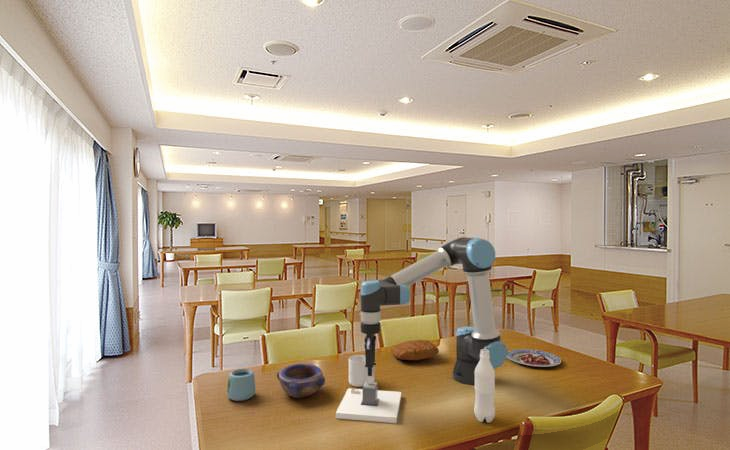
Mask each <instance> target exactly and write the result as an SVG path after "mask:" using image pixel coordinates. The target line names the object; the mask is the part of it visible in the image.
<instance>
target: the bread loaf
mask: <svg viewBox="0 0 730 450" xmlns="http://www.w3.org/2000/svg"><path fill="white" fill-rule="evenodd" d="M439 351H440V350H439V348H438V346H437V345H435V344H434V343H433V342H431V341H429V340H427V339H415V340H407V341H403V342H400V343H396V344H394V345H392V346H391V347H390V352H391V354H392V355H393V357H395V358H397V359H399V360H401V361H402V360H405V361H406V360H407V361H421V360H425V359H429V358H433V357H434V356H437V355H438V354H439Z"/></svg>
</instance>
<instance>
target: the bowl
mask: <svg viewBox="0 0 730 450" xmlns="http://www.w3.org/2000/svg"><path fill="white" fill-rule="evenodd" d="M276 378H277V380H278V381H279V384H280V387H281V389H282V390H283V391H284V393H286V395H289V396H290V397H292V398H296V399H297V398H306V397H310V396H311V395H313V394H314V393H316V392H317V391H318V390H320V388H322V387H324V386H325V383H326V378H325V376H324V374H323V371H322V369H321V368H320V367H319V366H318V365H315V364H313V363H310V362H308V363H307V362H304V363H303V362H302V363H295V364H290V365H288V366H285V367H284V368H282V369H280V370H279V371H278V372H277V374H276Z"/></svg>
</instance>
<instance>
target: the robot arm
mask: <svg viewBox="0 0 730 450" xmlns="http://www.w3.org/2000/svg"><path fill="white" fill-rule="evenodd" d="M495 260H496V250H495V248H494V246H493V244H492V243H491V242H490V241H488V240H487V239H483V238H480V237H467V236H466V237H458V238H455V239H453V240H451V241H449V242H447V243H445V244H443V245H442V246H440V247H438V248H437V251H434V252H433V253H432V254H430V255H428V256H426V257H424V258H422V259H420V260H418V261H416V262H415V263H413V264H410V265H408V266H406V267H404V268H402V269H401V270H399V271H398V272H395V273H393V274H392V275H389V276H388V277H386V278H384V279H376V280H365V281H362V282H361V283H360V312H359V314H358V315H359V316H360V321H361V322H360V332H361V334H365V337H364V345H363V346H364V356H365V359H366V365H365V367H367V384H374V382H375V366H376V365H377V363H376V343H377V342H376V340H377V336H376V335H377V334H379V333H380V332H381V307H382V306H383V307H385V306H398V305H399V306H402V305H407V304H409V302H410V301H411V289H410V286H413V285H414V284H416V283H418V282H419V281H422V280H423V279H426V278H427V277H429V276H431V275H433V274H434V273H436V272H438V271H440V270H442V269H444V268H451V267H453V266H455V265H462V272H463V273H464V274H466V275H467V282H468V283H467V284H468V290H469V291H468V292H469V297H470V306H471V313H472V323H473V326H462V327H458V328H457V329H456V334H455V336H456V337H455V338H456V345H455V346H456V350H455V351H456V360H455V363H454V366H453V369H452V379H453V380H455V381H456V382H459V383H461V384H466V385H475V374H474V372H475V368H476V366H477V364H478V363H479V361H480V354H481V353H480V350H481V349H487V350H489V355H490V358H489V360H490V363H491V365H492V367H493V369H497V368H499V367H501V366H502V365H503V364H504V362H506V360H507V358H508V357H507V354H508V352H509V351H508V347H507V345H506V344H505V343H504V342H502V340H501V333H500V331H499V330H498V329H496V321H495V313H494V308H493V307H494V305H493V298H492V289H491V284H490V275H489V273H490V272H491V271H492V270H493V267H492V265H493V264H494V261H495Z"/></svg>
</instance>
